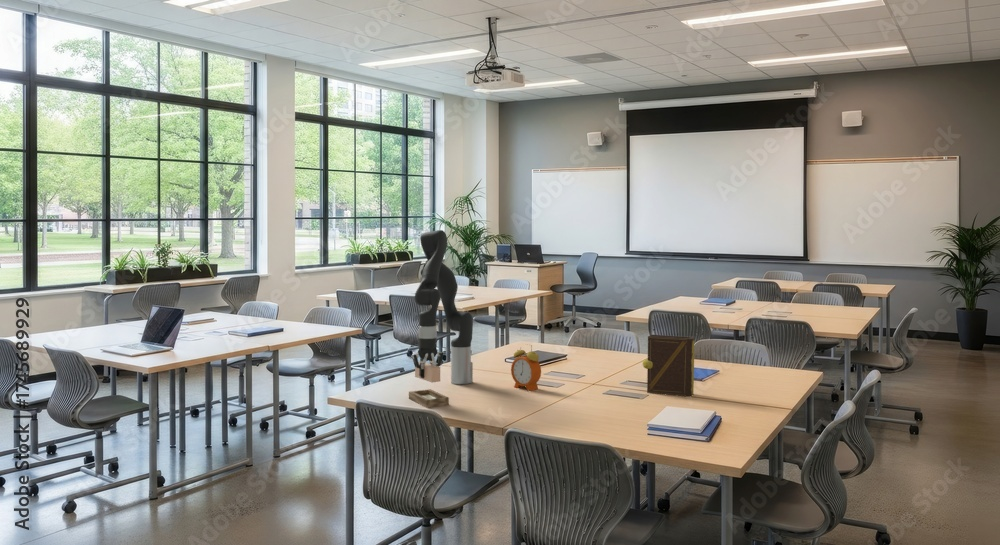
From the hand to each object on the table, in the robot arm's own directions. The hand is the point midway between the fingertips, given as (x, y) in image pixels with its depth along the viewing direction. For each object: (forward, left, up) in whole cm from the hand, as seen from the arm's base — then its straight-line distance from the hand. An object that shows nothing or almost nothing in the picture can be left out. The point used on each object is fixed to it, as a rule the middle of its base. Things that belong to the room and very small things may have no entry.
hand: (427, 377), depth 321 cm
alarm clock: (-49, -2, -11) cm, 50 cm away
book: (-98, +37, -11) cm, 106 cm away
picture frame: (0, 0, -10) cm, 10 cm away
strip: (0, 0, -1) cm, 1 cm away
